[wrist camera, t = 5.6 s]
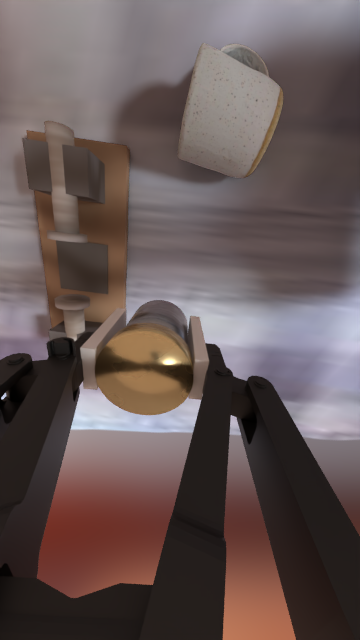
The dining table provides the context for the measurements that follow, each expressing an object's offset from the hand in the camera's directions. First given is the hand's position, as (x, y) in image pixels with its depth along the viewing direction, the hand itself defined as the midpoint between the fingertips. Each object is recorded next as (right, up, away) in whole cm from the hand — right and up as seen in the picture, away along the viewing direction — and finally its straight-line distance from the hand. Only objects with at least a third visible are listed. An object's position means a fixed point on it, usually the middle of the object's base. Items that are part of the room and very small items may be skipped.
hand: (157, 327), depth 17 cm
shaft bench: (-11, +8, +11) cm, 18 cm away
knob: (0, 0, 0) cm, 0 cm away
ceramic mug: (+7, +22, +5) cm, 24 cm away
